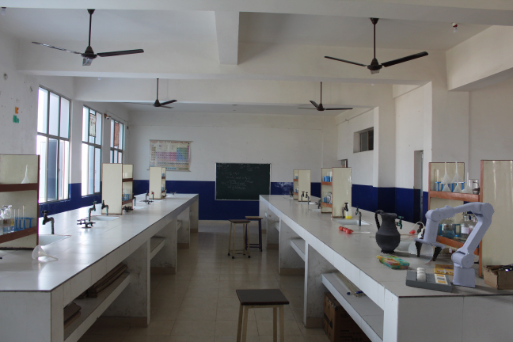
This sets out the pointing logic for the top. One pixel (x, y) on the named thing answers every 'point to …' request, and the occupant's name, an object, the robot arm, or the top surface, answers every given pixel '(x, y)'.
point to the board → (429, 281)
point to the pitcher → (387, 232)
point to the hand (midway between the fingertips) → (426, 258)
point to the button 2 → (421, 277)
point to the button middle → (421, 271)
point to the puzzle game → (393, 262)
